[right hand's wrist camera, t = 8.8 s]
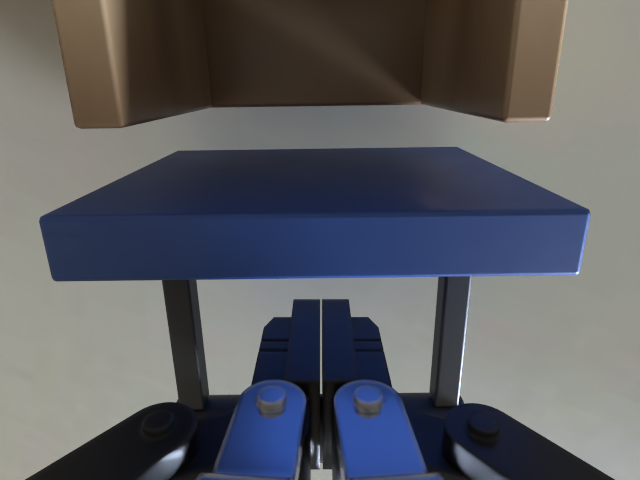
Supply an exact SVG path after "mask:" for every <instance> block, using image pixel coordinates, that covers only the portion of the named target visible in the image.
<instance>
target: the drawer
mask: <svg viewBox="0 0 640 480" xmlns="http://www.w3.org/2000/svg"><path fill="white" fill-rule="evenodd" d="M52 5H53V10H54V16H55V21H56V26H57V32H58V37H59V43H60V48H61V53H62V59H63V64H64V69H65V75H66V80H67V86H68V91H69V96H70V102H71V107H72V112H73V118H74V123H75V126H76V127H78V128H81V129H88V128H123V127H127V126H132V125H136V124H141V123H145V122H149V121H154V120H158V119H162V118H167V117H171V116H176V115H180V114H184V113H189V112H193V111H197V110H202V109H206V108H210V107H278V106H347V105H417V104H423V105H427V106H432V107H437V108H441V109H446V110H450V111H455V112H460V113H464V114H469V115H473V116H478V117H483V118H487V119H492V120H496V121H501V122H506V123H507V122H545V121H548V120H550V118H551V114H552V107H553V100H554V94H555V87H556V80H557V73H558V67H559V60H560V53H561V47H562V40H563V33H564V26H565V20H566V13H567V6H568V0H52ZM589 219H590V211H589V209H586V208H584V207H582V206H580V205H578V204H576V203H574V202H572V201H570V200H567V199H565V198H563V197H561V196H559V195H557V194H555V193H553V192H551V191H548V190H546V189H544V188H542V187H540V186H538V185H536V184H534V183H532V182H530V181H527V180H525V179H523V178H521V177H519V176H517V175H515V174H513V173H511V172H508V171H506V170H504V169H502V168H500V167H498V166H496V165H494V164H492V163H489V162H487V161H485V160H483V159H481V158H479V157H477V156H475V155H473V154H471V153H468V152H466V151H464V150H462V149H460V148H458V147H420V148H348V149H276V150H203V151H177V152H175V153H173V154H170V155H168V156H166V157H164V158H162V159H160V160H158V161H156V162H154V163H152V164H150V165H148V166H145V167H143V168H141V169H139V170H137V171H135V172H133V173H131V174H129V175H127V176H125V177H123V178H121V179H118V180H116V181H114V182H112V183H110V184H108V185H106V186H104V187H102V188H100V189H98V190H96V191H93V192H91V193H89V194H87V195H85V196H83V197H81V198H79V199H77V200H75V201H73V202H71V203H68V204H66V205H64V206H62V207H60V208H58V209H56V210H54V211H52V212H50V213H48V214H46V215H44V216H41V217H40V221H39V223H40V227H41V231H42V236H43V240H44V245H45V249H46V253H47V258H48V262H49V267H50V271H51V275H52V278H53V280H54V281H119V280H162V284H163V291H164V298H165V305H166V312H167V319H168V326H169V333H170V341H171V348H172V355H173V362H174V369H175V376H176V383H177V391H178V398H179V399H178V400H177V402H176V403H181V404H184V405H186V406H188V407H190V408H191V409H192V410H193V411H194V412H195V414H196V417H197V420H198V419H203V418H207V417H211V416H215V415H219V414H222V413H225V412H227V411H229V410H231V409H233V408H235V407H236V404H237V401H238V399H239V397H240V395H209V390H208V381H207V372H206V363H205V354H204V345H203V336H202V328H201V319H200V310H199V301H198V292H197V283H196V280H201V279H283V278H365V277H439V279H438V292H437V305H436V317H435V330H434V343H433V356H432V368H431V381H430V393H398V394H399V395H400V397H401V399H402V402H403V404H404V405H405V406H407V407H408V408H410V409H412V410H414V411H416V412H419V413H422V414H425V415H429V416H433V417H437V418H441V419H445V417H446V414H447V413H448V411H449V410H451V409H452V408H454V407H455V406H458V405H461V404H464V402H463V400H462V398H461V396H460V395H459V394H460V384H461V375H462V365H463V356H464V346H465V336H466V327H467V317H468V308H469V298H470V289H471V279H472V276H529V275H576V274H578V273H579V272H580V267H581V262H582V256H583V251H584V246H585V241H586V235H587V230H588V225H589ZM320 463H323V409H322V394H320Z"/></svg>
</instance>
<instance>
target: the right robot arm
mask: <svg viewBox="0 0 640 480" xmlns="http://www.w3.org/2000/svg"><path fill="white" fill-rule="evenodd" d="M322 409H323V469H332V475H333V480H614V479H613V478H611V477H609V476H608V475H606V474H604V473H603V472H601V471H599V470H598V469H596V468H595V467H593V466H591V465H590V464H588V463H586V462H585V461H583V460H581V459H580V458H578V457H576V456H575V455H573V454H571V453H570V452H568V451H566V450H565V449H563V448H561V447H560V446H558V445H556V444H555V443H553V442H551V441H550V440H548V439H546V438H545V437H543V436H541V435H540V434H538V433H536V432H535V431H533V430H531V429H530V428H528V427H527V426H525V425H523V424H522V423H520V422H518V421H517V420H515V419H513V418H512V417H510V416H508V415H507V414H505V413H503V412H501V411H500V410H498V409H495V408H493V407H490V406H487V405H482V404H475V403H467V404H461V405H458V406H455V407H454V408H452V409H451V410H449V411H448V413H447V414H446V417H445V419H441V418H437V417H433V416H429V415H425V414H422V413H419V412H416V411H414V410H412V409H410V408H408V407H407V406H405V405H404V404H403V402H402V399H401V397H400V395H399V394H398V393H397V392H396V391H395V390H394V389H393V388H392V385H391V380H390V376H389V372H388V367H387V363H386V359H385V354H384V352H383V346H382V342H381V337H380V333H379V328H378V327H377V326H376V325H375V324H374V323H373V322H372V321H371V320H370V319H369V318H368V317H351V314H350V307H349V300H348V299H322ZM311 469H320V299H294V301H293V309H292V317H274V318H273V319H272V320H271V321H270V322H269V323H268V324H267V325H266V326H265V327H264V330H263V335H262V339H261V344H260V348H259V353H258V357H257V362H256V366H255V371H254V375H253V380H252V384H251V386H250V387H248V388H247V389H246V390H245V391H243V393H242V394H241V395H240V397H239V399H238V401H237V404H236V407H235V408H233V409H231V410H229V411H227V412H225V413H222V414H219V415H215V416H211V417H207V418H203V419H198V420H197V417H196V414H195V412H194V411H193V410H192V409H191V408H190V407H188V406H186V405H184V404H181V403H175V402H166V403H159V404H155V405H152V406H149V407H146V408H144V409H142V410H140V411H138V412H137V413H135V414H133V415H132V416H130V417H128V418H127V419H125V420H123V421H122V422H120V423H118V424H117V425H115V426H114V427H112V428H110V429H109V430H107V431H105V432H104V433H102V434H100V435H99V436H97V437H95V438H94V439H92V440H90V441H89V442H87V443H85V444H84V445H82V446H80V447H79V448H77V449H75V450H74V451H72V452H70V453H69V454H67V455H65V456H64V457H62V458H60V459H59V460H57V461H55V462H54V463H52V464H50V465H49V466H47V467H46V468H44V469H42V470H41V471H39V472H37V473H36V474H34V475H32V476H31V477H29V478H27V479H26V480H310V477H311Z"/></svg>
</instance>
